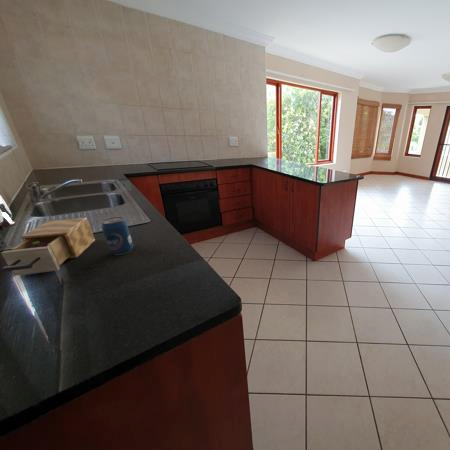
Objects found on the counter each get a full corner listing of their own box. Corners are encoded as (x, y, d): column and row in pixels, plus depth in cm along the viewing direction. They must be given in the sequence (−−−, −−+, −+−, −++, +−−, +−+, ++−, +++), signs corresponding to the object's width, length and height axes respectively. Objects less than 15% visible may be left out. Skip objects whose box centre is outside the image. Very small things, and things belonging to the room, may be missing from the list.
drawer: (47, 280, 67) (35, 256, 64) (-1, 286, 65) (-16, 262, 61) (79, 250, 83) (70, 230, 80) (42, 255, 80) (31, 234, 77)
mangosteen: (28, 267, 71) (18, 247, 69) (40, 258, 76) (30, 239, 73) (50, 264, 73) (40, 245, 70) (60, 256, 77) (51, 237, 75)
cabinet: (77, 257, 80) (66, 232, 77) (33, 262, 77) (20, 236, 73) (95, 240, 92) (86, 217, 89) (58, 244, 89) (48, 220, 85)
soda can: (106, 256, 81) (95, 224, 76) (116, 247, 87) (106, 217, 83) (129, 255, 82) (118, 223, 78) (137, 245, 89) (128, 215, 84)
